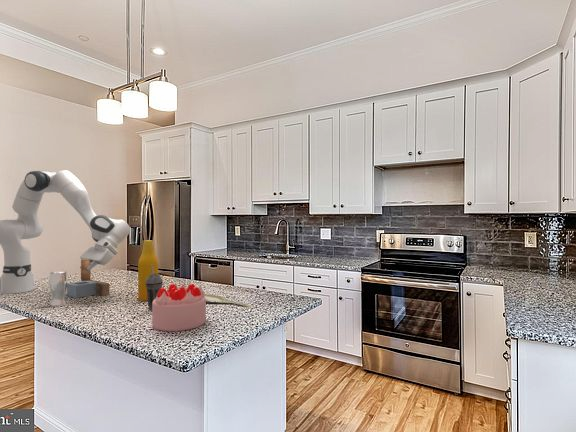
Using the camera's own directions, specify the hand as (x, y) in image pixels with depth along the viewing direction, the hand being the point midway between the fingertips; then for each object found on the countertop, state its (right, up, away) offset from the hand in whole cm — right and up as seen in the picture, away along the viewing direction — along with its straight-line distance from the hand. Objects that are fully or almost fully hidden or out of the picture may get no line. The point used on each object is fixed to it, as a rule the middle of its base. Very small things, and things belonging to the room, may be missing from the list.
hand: (84, 269), depth 165 cm
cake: (+56, -16, -32) cm, 66 cm away
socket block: (-10, -15, +14) cm, 23 cm away
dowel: (0, -5, +1) cm, 5 cm away
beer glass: (-9, -16, -5) cm, 19 cm away
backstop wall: (-4, -16, +18) cm, 24 cm away
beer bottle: (+28, -16, +6) cm, 33 cm away
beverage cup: (+38, -16, -12) cm, 43 cm away
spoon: (+68, -16, -2) cm, 70 cm away
